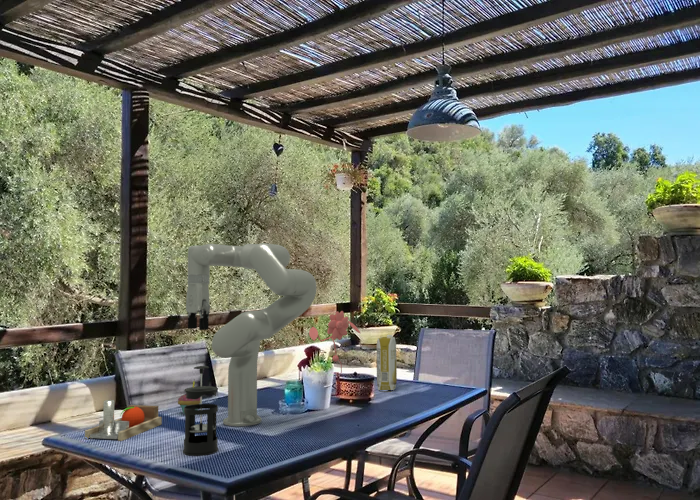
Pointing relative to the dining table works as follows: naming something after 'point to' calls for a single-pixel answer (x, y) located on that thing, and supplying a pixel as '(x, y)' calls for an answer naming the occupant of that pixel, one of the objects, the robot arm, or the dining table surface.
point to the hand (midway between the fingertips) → (197, 329)
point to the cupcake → (188, 400)
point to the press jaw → (109, 423)
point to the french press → (200, 442)
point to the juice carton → (386, 363)
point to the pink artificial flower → (335, 330)
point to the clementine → (133, 416)
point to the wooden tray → (148, 423)
